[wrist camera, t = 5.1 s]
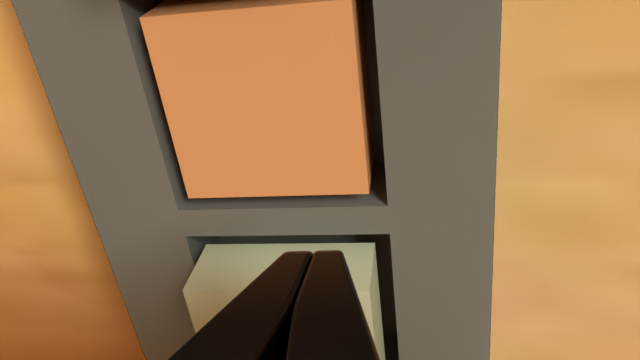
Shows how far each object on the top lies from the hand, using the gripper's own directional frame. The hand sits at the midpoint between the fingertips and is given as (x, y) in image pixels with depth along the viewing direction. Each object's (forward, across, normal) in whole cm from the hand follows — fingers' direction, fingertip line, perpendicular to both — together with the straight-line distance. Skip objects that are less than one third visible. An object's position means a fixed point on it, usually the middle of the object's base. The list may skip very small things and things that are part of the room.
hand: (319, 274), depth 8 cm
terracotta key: (+7, +2, -1) cm, 7 cm away
